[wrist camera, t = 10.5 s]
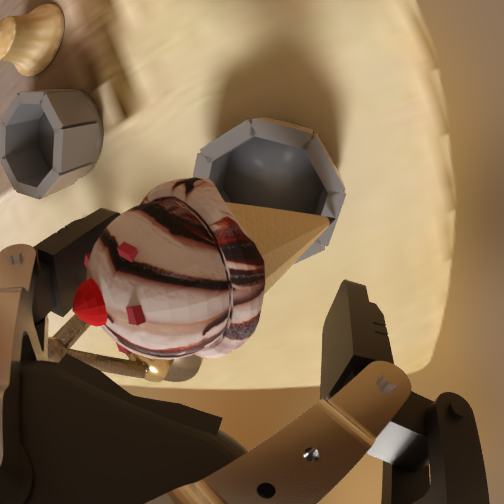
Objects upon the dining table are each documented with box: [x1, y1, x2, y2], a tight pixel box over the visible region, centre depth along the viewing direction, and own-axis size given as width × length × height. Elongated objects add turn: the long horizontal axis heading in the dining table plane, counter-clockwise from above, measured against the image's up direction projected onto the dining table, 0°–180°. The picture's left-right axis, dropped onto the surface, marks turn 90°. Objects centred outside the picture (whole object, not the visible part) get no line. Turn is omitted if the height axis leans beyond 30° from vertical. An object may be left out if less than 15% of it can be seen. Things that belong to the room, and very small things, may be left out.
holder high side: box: [0, 89, 103, 199], centre depth 23 cm, size 9×9×6 cm
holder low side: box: [193, 117, 346, 264], centre depth 21 cm, size 9×9×6 cm
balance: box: [48, 314, 203, 382], centre depth 24 cm, size 8×21×15 cm, turn 77°
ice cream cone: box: [73, 177, 335, 360], centre depth 13 cm, size 6×6×15 cm
